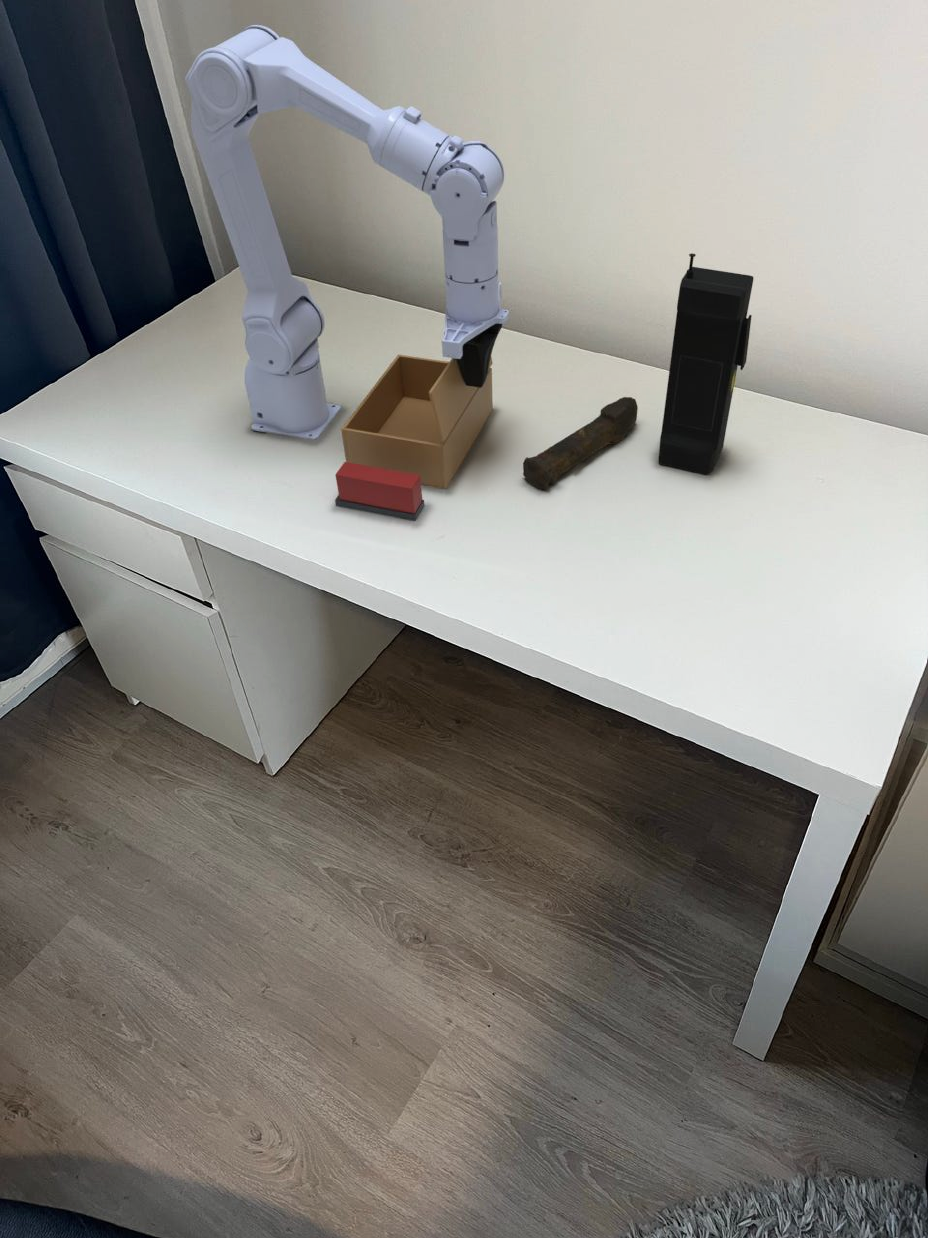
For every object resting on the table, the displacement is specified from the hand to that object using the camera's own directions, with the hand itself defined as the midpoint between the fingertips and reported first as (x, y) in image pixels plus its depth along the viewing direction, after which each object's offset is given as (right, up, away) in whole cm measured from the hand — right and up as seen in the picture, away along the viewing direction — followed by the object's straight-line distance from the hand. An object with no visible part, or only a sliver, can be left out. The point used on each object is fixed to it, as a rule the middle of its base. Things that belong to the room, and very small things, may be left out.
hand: (475, 383), depth 110 cm
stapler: (-11, -15, 0) cm, 18 cm away
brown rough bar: (+13, -7, +6) cm, 16 cm away
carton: (-7, -5, +9) cm, 12 cm away
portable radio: (+27, -8, +4) cm, 28 cm away
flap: (-2, +1, 0) cm, 2 cm away
